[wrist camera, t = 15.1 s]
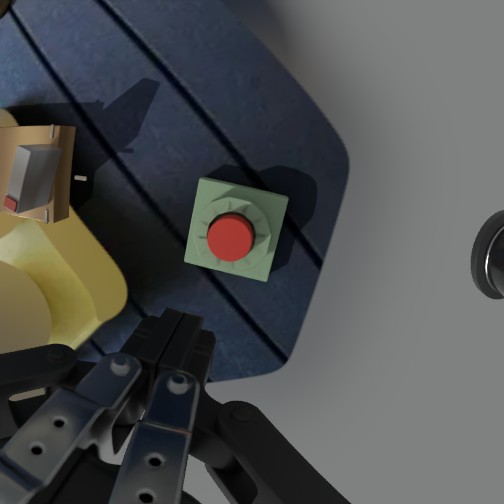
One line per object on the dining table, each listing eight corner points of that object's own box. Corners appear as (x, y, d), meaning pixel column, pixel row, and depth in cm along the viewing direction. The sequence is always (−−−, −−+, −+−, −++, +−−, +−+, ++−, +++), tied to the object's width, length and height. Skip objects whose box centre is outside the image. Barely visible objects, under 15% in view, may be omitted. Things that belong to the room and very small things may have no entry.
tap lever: (49, 143, 26) (15, 144, 21) (62, 149, 26) (29, 151, 21) (35, 197, 28) (2, 207, 23) (47, 205, 28) (14, 215, 23)
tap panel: (107, 126, 28) (92, 125, 25) (98, 223, 31) (83, 230, 28) (-19, 128, 29) (-35, 129, 26) (-23, 201, 32) (-38, 206, 29)
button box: (288, 196, 29) (289, 201, 26) (267, 275, 32) (266, 290, 28) (203, 176, 29) (194, 179, 26) (188, 256, 32) (178, 268, 28)
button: (257, 219, 27) (256, 224, 25) (247, 259, 28) (246, 266, 27) (215, 210, 27) (211, 213, 25) (207, 249, 28) (203, 256, 27)
